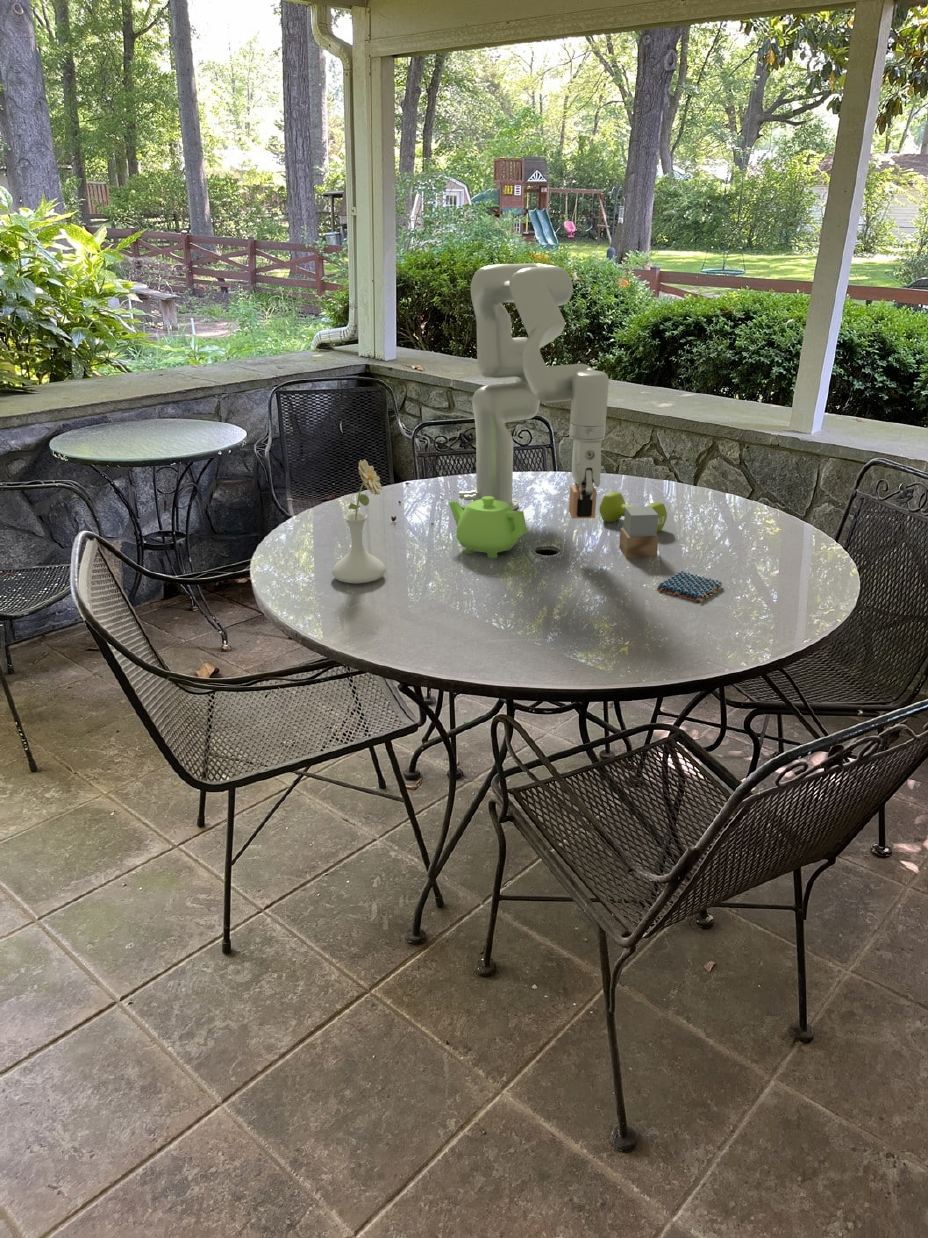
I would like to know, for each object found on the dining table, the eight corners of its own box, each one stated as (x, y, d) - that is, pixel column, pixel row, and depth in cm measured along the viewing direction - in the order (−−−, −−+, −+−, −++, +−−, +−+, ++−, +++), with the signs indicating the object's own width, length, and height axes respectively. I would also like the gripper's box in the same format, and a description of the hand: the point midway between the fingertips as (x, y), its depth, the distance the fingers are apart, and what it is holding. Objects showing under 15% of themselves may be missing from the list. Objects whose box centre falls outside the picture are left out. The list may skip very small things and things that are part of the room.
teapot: (435, 550, 201) (434, 497, 195) (467, 534, 211) (467, 483, 205) (509, 567, 190) (510, 512, 185) (539, 549, 200) (541, 496, 195)
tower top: (629, 536, 193) (631, 515, 191) (623, 528, 199) (625, 507, 196) (656, 536, 193) (658, 514, 191) (649, 527, 199) (651, 506, 197)
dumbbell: (668, 530, 212) (671, 501, 209) (649, 537, 207) (652, 508, 204) (614, 515, 223) (616, 488, 220) (595, 522, 218) (597, 494, 215)
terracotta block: (572, 518, 191) (573, 492, 188) (568, 510, 195) (570, 485, 193) (594, 518, 191) (596, 491, 188) (590, 510, 196) (592, 484, 193)
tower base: (625, 558, 195) (627, 537, 193) (619, 548, 201) (620, 527, 199) (656, 558, 195) (658, 536, 193) (648, 547, 201) (650, 526, 199)
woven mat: (725, 590, 179) (726, 580, 178) (700, 606, 172) (701, 596, 171) (679, 577, 185) (680, 569, 184) (654, 592, 178) (654, 583, 177)
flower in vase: (364, 592, 178) (356, 473, 168) (321, 581, 184) (311, 465, 173) (401, 572, 188) (396, 458, 178) (359, 562, 194) (352, 452, 183)
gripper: (612, 441, 177) (605, 525, 186) (597, 421, 193) (591, 499, 201) (576, 441, 177) (570, 525, 185) (563, 421, 192) (559, 500, 200)
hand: (581, 511), depth 193 cm, fingers closed on terracotta block, 4 cm apart
